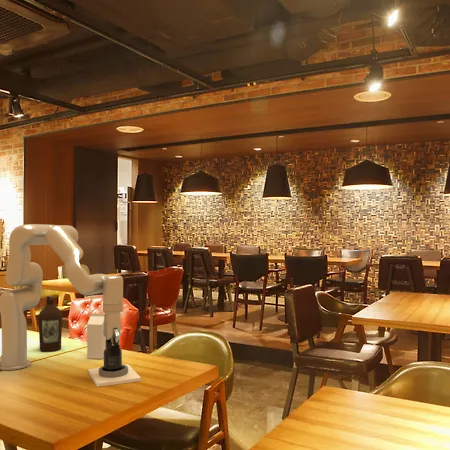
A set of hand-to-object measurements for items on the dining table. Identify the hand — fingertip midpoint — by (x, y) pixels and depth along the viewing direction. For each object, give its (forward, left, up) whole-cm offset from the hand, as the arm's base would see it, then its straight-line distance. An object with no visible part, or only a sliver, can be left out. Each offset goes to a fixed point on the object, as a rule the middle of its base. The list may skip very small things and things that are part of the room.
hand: (112, 352), depth 188 cm
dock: (0, 0, -9) cm, 9 cm away
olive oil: (-18, +55, -9) cm, 58 cm away
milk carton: (0, +32, -9) cm, 33 cm away
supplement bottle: (0, 0, -8) cm, 8 cm away
